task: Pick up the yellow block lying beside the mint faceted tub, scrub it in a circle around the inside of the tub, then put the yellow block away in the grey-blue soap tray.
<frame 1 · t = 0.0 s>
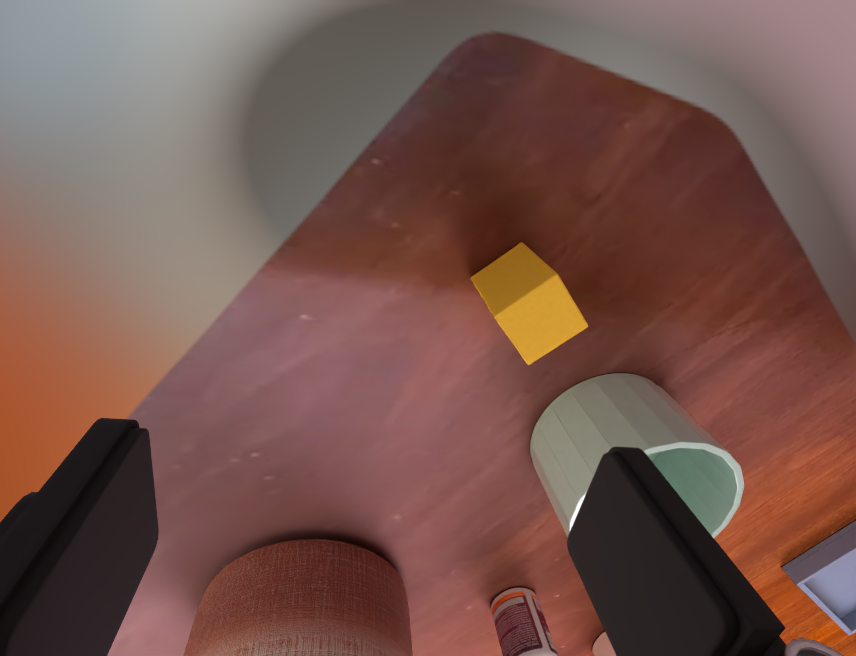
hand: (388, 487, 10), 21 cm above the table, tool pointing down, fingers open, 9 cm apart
pill bottle: (512, 599, 46), on the table
planter: (308, 595, 42), on the table
yellow block: (510, 282, 31), on the table
water bottle: (619, 643, 53), on the table
tray: (853, 567, 52), on the table
mint faceted tub: (601, 435, 38), on the table
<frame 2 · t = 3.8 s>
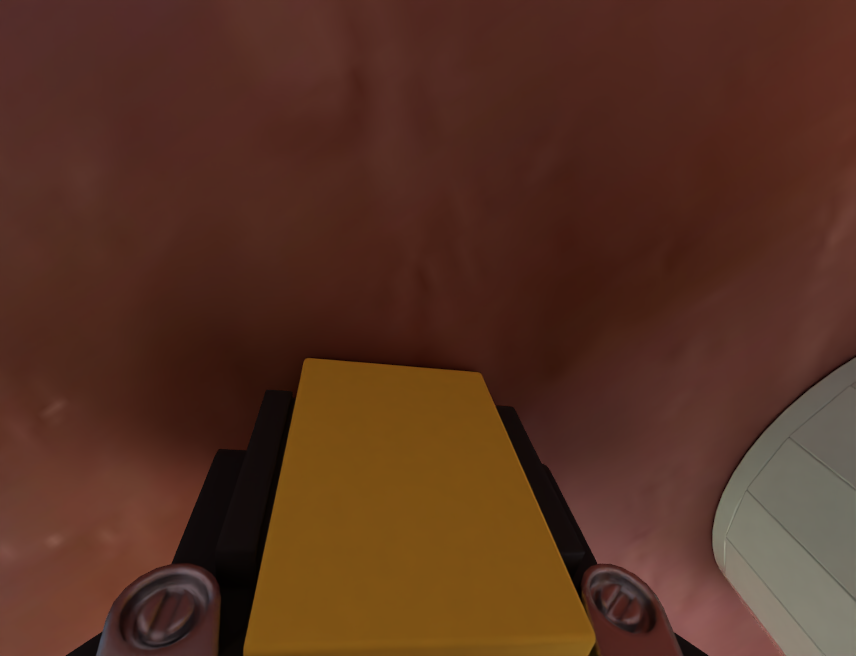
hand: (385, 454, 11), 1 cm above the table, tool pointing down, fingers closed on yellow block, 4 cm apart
yellow block: (384, 434, 11), on the table, touching gripper
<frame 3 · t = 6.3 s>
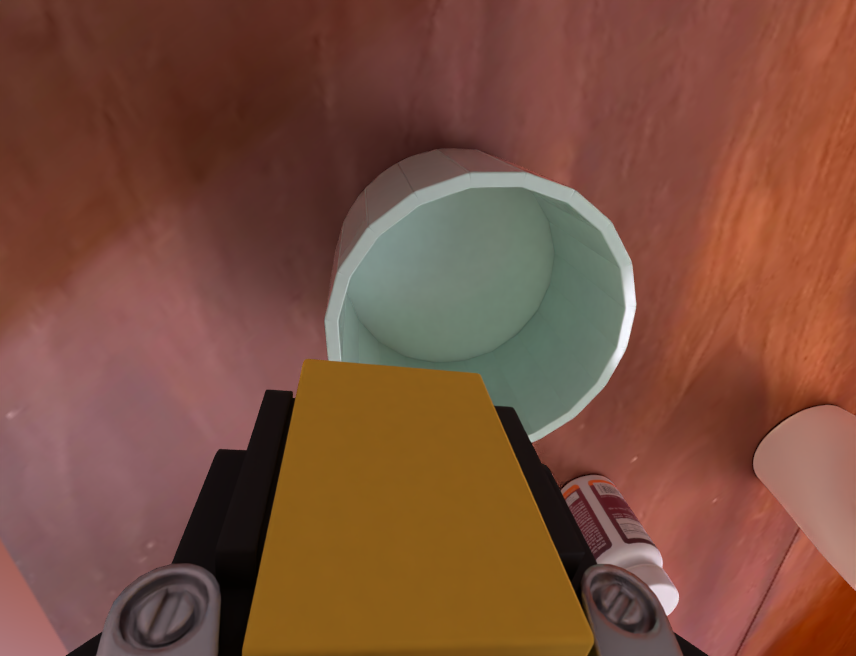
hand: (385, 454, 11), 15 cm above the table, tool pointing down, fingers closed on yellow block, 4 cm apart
pill bottle: (583, 494, 34), on the table
yellow block: (383, 435, 11), point 14 cm above the table, touching gripper
water bottle: (797, 452, 35), on the table
mint faceted tub: (449, 267, 25), on the table
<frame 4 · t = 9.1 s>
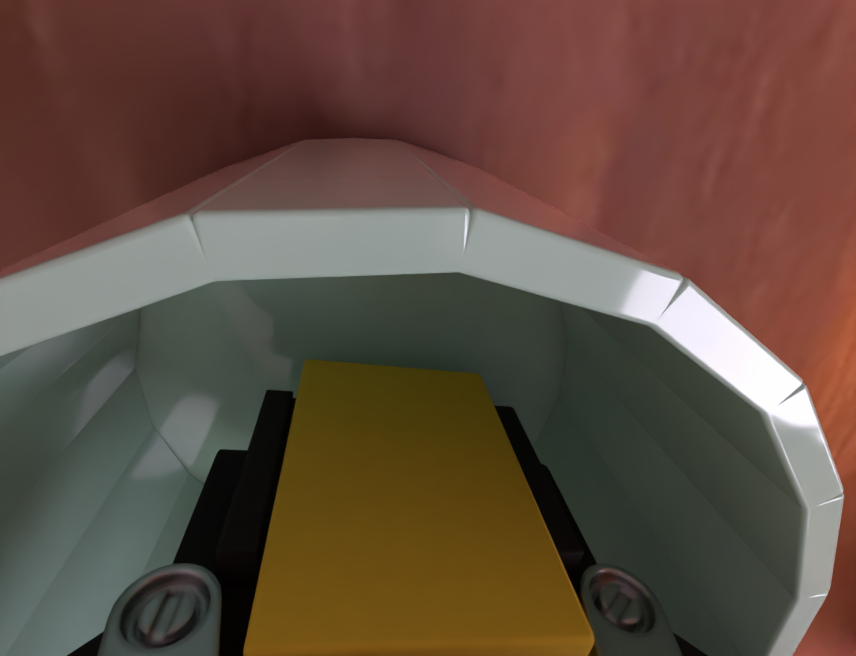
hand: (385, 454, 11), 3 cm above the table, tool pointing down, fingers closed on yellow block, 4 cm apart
yellow block: (384, 435, 11), point 2 cm above the table, touching gripper
mint faceted tub: (365, 370, 13), on the table
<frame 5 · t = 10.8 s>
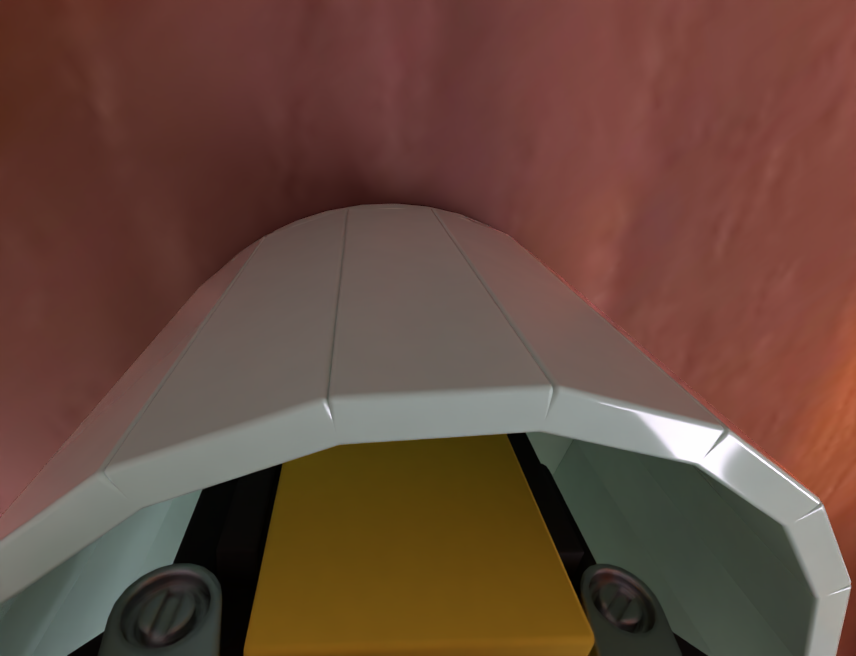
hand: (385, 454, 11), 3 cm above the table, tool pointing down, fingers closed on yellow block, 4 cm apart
yellow block: (384, 435, 11), point 2 cm above the table, touching gripper
mint faceted tub: (390, 412, 13), on the table
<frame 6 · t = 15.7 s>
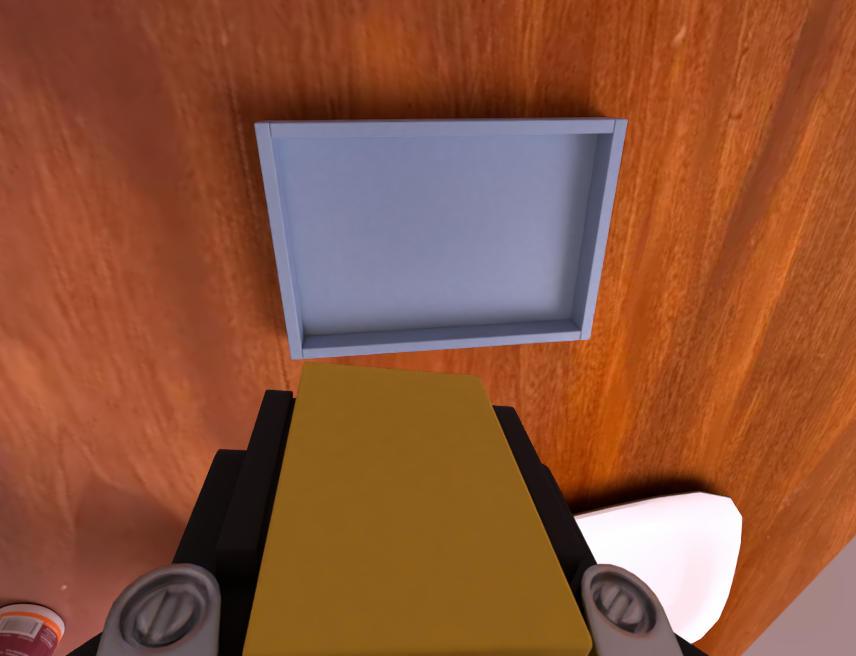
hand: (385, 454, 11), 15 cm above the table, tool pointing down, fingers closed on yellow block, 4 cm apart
pill bottle: (30, 620, 33), on the table
plate: (600, 580, 40), on the table
yellow block: (383, 437, 11), point 14 cm above the table, touching gripper
tray: (441, 236, 24), on the table
when the fingers open (1 cm above the table, at t = 19.5 s): yellow block stays where it is, resting on tray.
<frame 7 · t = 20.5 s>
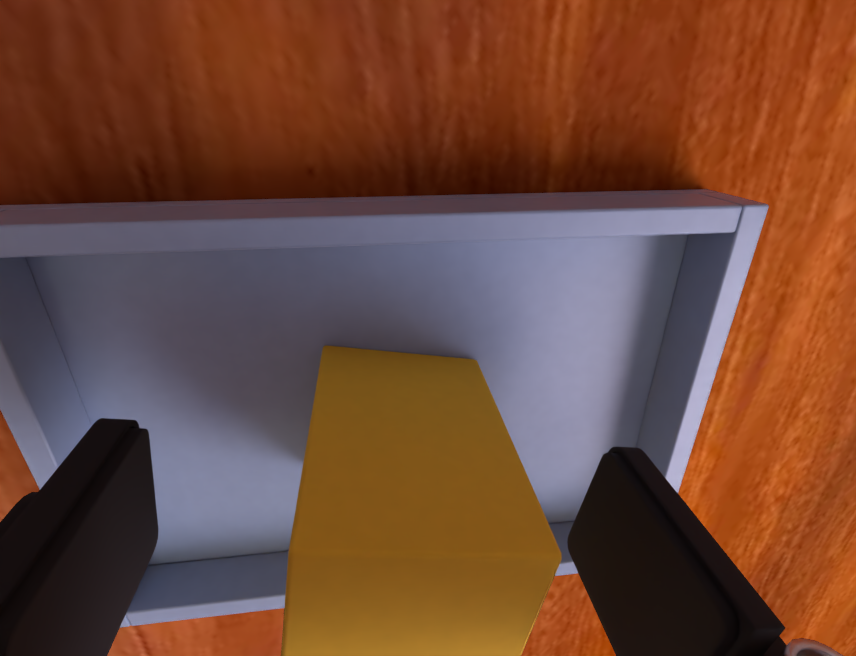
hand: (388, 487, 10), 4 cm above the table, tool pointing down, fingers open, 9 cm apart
yellow block: (391, 414, 13), resting on tray
tray: (389, 399, 13), on the table
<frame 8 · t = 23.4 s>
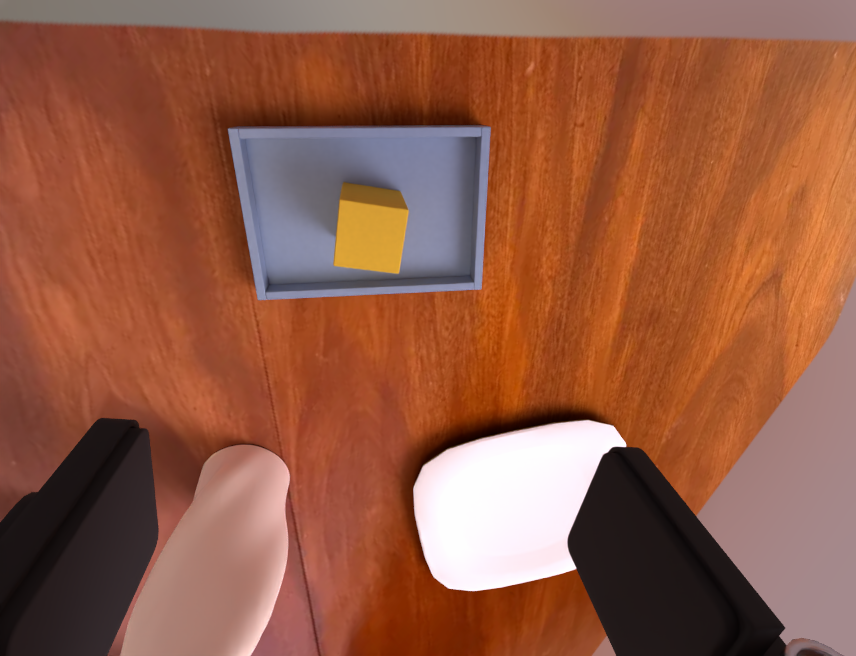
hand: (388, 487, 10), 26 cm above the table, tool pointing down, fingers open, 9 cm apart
plate: (519, 501, 48), on the table
yellow block: (368, 215, 33), resting on tray
water bottle: (249, 481, 43), on the table
tray: (368, 211, 33), on the table
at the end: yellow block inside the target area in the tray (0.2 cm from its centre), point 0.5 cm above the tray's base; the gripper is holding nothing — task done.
